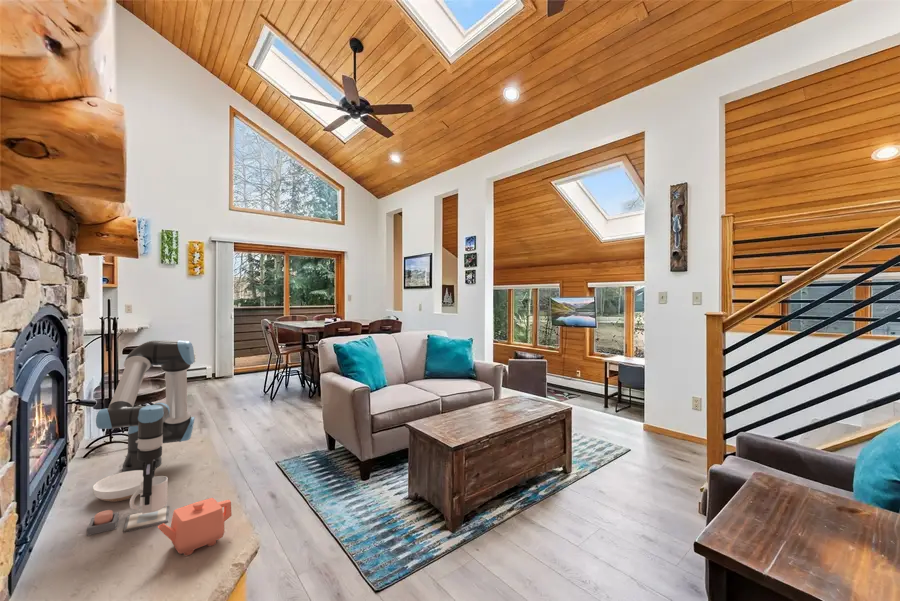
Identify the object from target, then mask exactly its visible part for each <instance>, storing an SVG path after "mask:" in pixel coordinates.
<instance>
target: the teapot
mask: <svg viewBox="0 0 900 601" xmlns="http://www.w3.org/2000/svg"><path fill="white" fill-rule="evenodd" d="M232 516H233V514H232V502H231V500H230V499H226V500H221V501H217V500H216V499H215V498H214V497H210V498H207V499H202V500H199V501H197V502H192V503H190V504H187V505H185V506H182V507H178V508H175V509H174V510H173V512H172V516H171V522H170V526H169V525H167V524H166V523H163V524H158V525H156V526H157V528H158V530H159V531H160V532H162V533H163V535H165V537H167V538H168V539H169V540H170V541H171V544H172V545H173V547H174V548H175V550H176V551H177V553H178V554H179V555H181V554H183V555H184V556H186V557H187V556H191V555H192V554H194V552H195V550H197V549H200V548H201V547H204V546H208V547H212V546H215V545H216V544H217V541H218V540H220V539H222V538H223V537H224V534H225V522H226V521H227V520H228V519H230V518H231V517H232Z"/></svg>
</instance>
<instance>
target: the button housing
mask: <svg viewBox="0 0 900 601" xmlns="http://www.w3.org/2000/svg"><path fill="white" fill-rule="evenodd" d="M119 517H120V516H119V512H118V511H117V512H113V520H112V522H109V523H104V524H100V525H95V526H94V518H95V516H94V517H92V518H90V521H89V524H88V526H87V530H86V536H87V537H88V536H91V535H96V534H101V533H103V532H108V531H113V530H116V528H117V524H118V522H119Z"/></svg>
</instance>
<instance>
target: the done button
mask: <svg viewBox="0 0 900 601" xmlns="http://www.w3.org/2000/svg"><path fill="white" fill-rule="evenodd" d="M113 513H114V511H113V509H112V510H111V509H107V510H101V511H100V512H96V514H95V515H94V517H95V518H94V517H93V518H94V526H95V525H100V524H104V523H109V522H112V520H113Z"/></svg>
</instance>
